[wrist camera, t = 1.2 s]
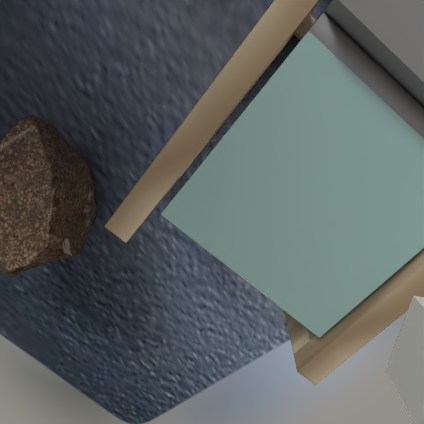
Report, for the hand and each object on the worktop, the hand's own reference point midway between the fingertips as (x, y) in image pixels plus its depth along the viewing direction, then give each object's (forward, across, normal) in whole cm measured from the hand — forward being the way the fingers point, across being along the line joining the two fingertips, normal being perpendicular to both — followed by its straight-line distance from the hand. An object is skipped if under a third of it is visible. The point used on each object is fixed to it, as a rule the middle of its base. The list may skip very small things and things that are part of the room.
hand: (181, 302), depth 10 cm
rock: (+22, -14, -5) cm, 27 cm away
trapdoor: (+11, +7, +3) cm, 14 cm away
